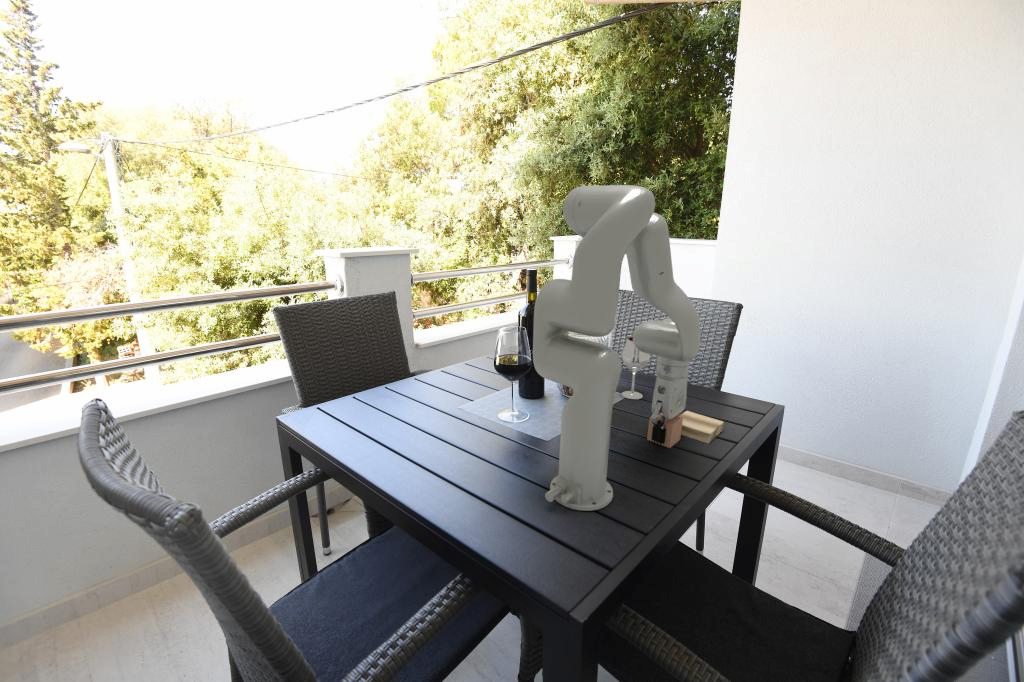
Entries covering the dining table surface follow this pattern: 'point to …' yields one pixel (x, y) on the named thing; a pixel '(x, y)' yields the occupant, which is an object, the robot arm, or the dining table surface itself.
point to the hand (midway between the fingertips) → (664, 436)
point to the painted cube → (668, 430)
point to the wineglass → (633, 365)
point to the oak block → (700, 426)
